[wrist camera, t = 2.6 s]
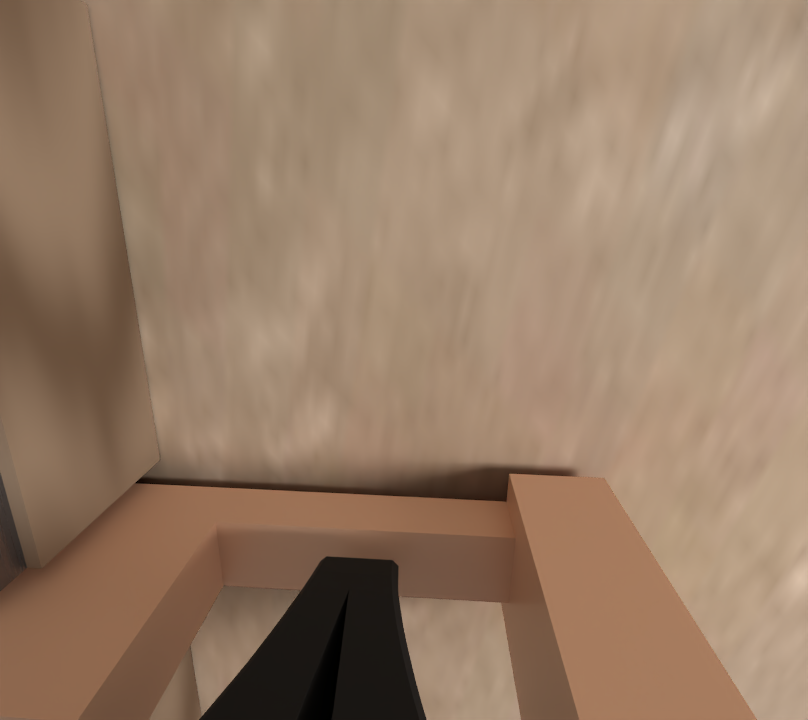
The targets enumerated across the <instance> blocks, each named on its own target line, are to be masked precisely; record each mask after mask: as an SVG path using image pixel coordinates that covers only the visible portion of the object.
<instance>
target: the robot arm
mask: <svg viewBox="0 0 808 720" xmlns="http://www.w3.org/2000/svg"><path fill="white" fill-rule="evenodd" d="M398 570H399V566H398V565H397V564H396V563H395V562H394V561H393V560H383V559H366V558H348V557H330V556H326V557H325V558H324V559H322V560H321V561H320V562H319V564H318V566H317V567H316V569H315V570H314V572H313V573H312V575H311V577H310V578H309V580H308V581H307V583H306V584H305V586H304V587H303V589H302V590H301V591H300V593H299V594H298V596H297V597H296V599H295V600H294V601H293V603H292V604H291V606H290V607H289V608H288V610H287V611H286V613H285V614H284V615H283V617H282V618H281V619H280V621H279V622H278V623H277V625H276V626H275V627H274V629H273V630H272V631H271V633H270V634H269V635H268V636H267V638H266V639H265V640H264V642H263V643H262V644H261V646H260V647H259V648H258V650H257V651H256V652H255V653H254V655H253V656H252V657H251V659H250V660H249V661H248V662H247V664H246V665H245V666H244V667H243V668H242V670H241V671H240V672H239V673H238V674H237V676H236V677H235V678H234V679H233V680H232V682H231V683H230V684H229V685H228V686H227V687H226V689H225V690H224V691H223V692H222V693H221V695H220V696H219V697H218V698H217V699H216V701H215V702H214V703H213V704H212V705H211V706H210V708H209V709H208V710H207V711H206V712H205V713H204V715H203V716H202V717H201V718H200V719H199V720H426V717H425V713H424V710H423V706H422V703H421V699H420V696H419V692H418V688H417V685H416V681H415V677H414V673H413V669H412V664H411V660H410V656H409V652H408V647H407V643H406V638H405V633H404V628H403V623H402V616H401V610H400V603H399V594H398Z"/></svg>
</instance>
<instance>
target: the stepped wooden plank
mask: <svg viewBox="0 0 808 720" xmlns="http://www.w3.org/2000/svg"><path fill="white" fill-rule="evenodd" d="M326 556H330V557H348V558H366V559H383V560H393V561H394V562H395V563H396V564H397V565H398V566H399V570H398V594H399V596H402V597H419V598H435V599H452V600H469V601H485V602H501V604H502V610H503V616H504V622H505V628H506V633H507V639H508V645H509V651H510V657H511V663H512V668H513V674H514V680H515V686H516V692H517V698H518V703H519V709H520V715H521V720H757V719H756V717H755V716H754V714H753V713H752V711H751V709H750V708H749V706H748V705H747V703H746V702H745V700H744V698H743V697H742V695H741V694H740V692H739V690H738V689H737V687H736V686H735V684H734V683H733V681H732V679H731V678H730V676H729V675H728V673H727V671H726V670H725V668H724V667H723V665H722V664H721V662H720V660H719V659H718V657H717V656H716V654H715V653H714V651H713V649H712V648H711V646H710V645H709V643H708V641H707V640H706V638H705V637H704V635H703V634H702V632H701V630H700V629H699V627H698V626H697V624H696V622H695V621H694V619H693V618H692V616H691V615H690V613H689V611H688V610H687V608H686V607H685V605H684V604H683V602H682V600H681V599H680V597H679V596H678V594H677V592H676V591H675V589H674V588H673V586H672V585H671V583H670V581H669V580H668V578H667V577H666V575H665V573H664V572H663V570H662V569H661V567H660V566H659V564H658V562H657V561H656V559H655V558H654V556H653V554H652V553H651V551H650V550H649V548H648V547H647V545H646V543H645V542H644V540H643V539H642V537H641V536H640V534H639V532H638V531H637V529H636V528H635V526H634V524H633V523H632V521H631V520H630V518H629V517H628V515H627V513H626V512H625V510H624V509H623V507H622V505H621V504H620V502H619V501H618V499H617V498H616V496H615V494H614V493H613V491H612V490H611V488H610V487H609V485H608V483H607V482H606V480H605V479H604V478H592V477H571V476H549V475H527V474H509V481H508V492H507V502H504V501H484V500H463V499H443V498H423V497H403V496H382V495H362V494H342V493H321V492H301V491H281V490H261V489H240V488H220V487H200V486H180V485H159V484H139V483H134V484H133V485H132V486H131V487H130V488H129V489H128V490H127V491H126V492H125V493H124V494H122V495H121V496H120V497H119V498H118V499H117V500H116V501H115V502H114V503H113V504H112V505H110V506H109V507H108V508H107V509H106V510H105V511H104V512H103V513H102V514H101V515H100V516H98V517H97V518H96V519H95V520H94V521H93V522H92V523H91V524H90V525H89V526H88V527H86V528H85V529H84V530H83V531H82V532H81V533H80V534H79V535H78V536H77V537H76V538H74V539H73V540H72V541H71V542H70V543H69V544H68V545H67V546H66V547H65V548H64V549H62V550H61V551H60V552H59V553H58V554H57V555H56V556H55V557H54V558H53V559H52V560H51V561H49V562H48V563H47V564H46V565H45V566H44V567H43V568H26V569H25V570H24V571H23V572H22V573H21V574H19V575H18V576H17V577H16V578H15V579H14V580H13V581H11V582H10V583H9V584H8V585H7V586H6V587H5V588H4V589H2V590H1V591H0V720H149V718H150V716H151V715H152V713H153V711H154V709H155V708H156V706H157V704H158V702H159V700H160V699H161V697H162V695H163V693H164V691H165V690H166V688H167V686H168V684H169V682H170V681H171V679H172V677H173V675H174V673H175V672H176V670H177V668H178V666H179V664H180V663H181V661H182V659H183V657H184V656H185V654H186V652H187V650H188V648H189V647H190V645H191V643H192V641H193V639H194V638H195V636H196V634H197V632H198V630H199V629H200V627H201V625H202V623H203V621H204V620H205V618H206V616H207V614H208V613H209V611H210V609H211V607H212V605H213V604H214V602H215V600H216V598H217V596H218V595H219V593H220V591H221V589H222V587H223V586H237V587H253V588H270V589H287V590H302V589H303V587H304V586H305V584H306V583H307V581H308V580H309V578H310V577H311V575H312V573H313V572H314V570H315V569H316V567H317V566H318V564H319V562H320V561H321V560H322V559H324V558H325V557H326Z"/></svg>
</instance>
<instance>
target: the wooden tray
mask: <svg viewBox="0 0 808 720" xmlns="http://www.w3.org/2000/svg"><path fill="white" fill-rule="evenodd" d="M159 460H160V455H159V449H158V443H157V437H156V430H155V424H154V418H153V412H152V406H151V399H150V393H149V387H148V381H147V374H146V368H145V362H144V356H143V350H142V343H141V337H140V331H139V325H138V319H137V312H136V306H135V300H134V294H133V287H132V281H131V275H130V269H129V263H128V256H127V250H126V244H125V238H124V231H123V225H122V219H121V213H120V207H119V200H118V194H117V188H116V182H115V176H114V169H113V163H112V157H111V151H110V144H109V138H108V132H107V126H106V120H105V113H104V107H103V101H102V95H101V88H100V82H99V76H98V70H97V64H96V57H95V51H94V45H93V39H92V33H91V26H90V20H89V14H88V8H87V4H85V3H84V2H82V1H80V0H0V591H1V590H2V589H4V588H5V587H6V586H7V585H8V584H9V583H10V582H11V581H13V580H14V579H15V578H16V577H17V576H18V575H19V574H21V573H22V572H23V571H24V570H25V569H26V568H43V567H44V566H45V565H46V564H47V563H48V562H49V561H51V560H52V559H53V558H54V557H55V556H56V555H57V554H58V553H59V552H60V551H61V550H62V549H64V548H65V547H66V546H67V545H68V544H69V543H70V542H71V541H72V540H73V539H74V538H76V537H77V536H78V535H79V534H80V533H81V532H82V531H83V530H84V529H85V528H86V527H88V526H89V525H90V524H91V523H92V522H93V521H94V520H95V519H96V518H97V517H98V516H100V515H101V514H102V513H103V512H104V511H105V510H106V509H107V508H108V507H109V506H110V505H112V504H113V503H114V502H115V501H116V500H117V499H118V498H119V497H120V496H121V495H122V494H124V493H125V492H126V491H127V490H128V489H129V488H130V487H131V486H132V485H133V484H134V483H135V482H137V481H138V480H139V479H140V478H141V477H142V476H143V475H144V474H145V473H146V472H147V471H149V470H150V469H151V468H152V467H153V466H154V465H155V464H156V463H157V462H158V461H159ZM201 717H202V716H201V710H200V704H199V698H198V692H197V685H196V679H195V673H194V667H193V661H192V654H191V648H190V647H189V648H188V650H187V652H186V654H185V656H184V657H183V659H182V661H181V663H180V664H179V666H178V668H177V670H176V672H175V673H174V675H173V677H172V679H171V681H170V682H169V684H168V686H167V688H166V690H165V691H164V693H163V695H162V697H161V699H160V700H159V702H158V704H157V706H156V708H155V709H154V711H153V713H152V715H151V716H150V718H149V720H199V719H200V718H201Z"/></svg>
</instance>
